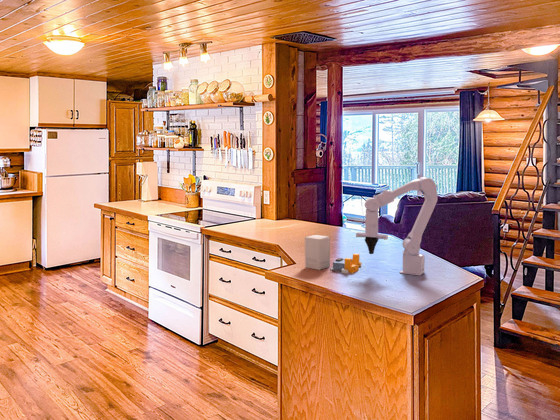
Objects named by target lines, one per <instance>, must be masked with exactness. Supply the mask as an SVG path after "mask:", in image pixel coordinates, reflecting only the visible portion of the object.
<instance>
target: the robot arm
mask: <svg viewBox="0 0 560 420" xmlns="http://www.w3.org/2000/svg"><path fill="white" fill-rule="evenodd" d="M411 191H417V192H418V191H419V192H421V193H422V196H423V198H424V202H423V204H422V206H421V208H420V210H419V213H418V215H417V217H416V220H415V222H414V224H413V226H412V229H411V231H410V232H409V233H408V234H407V236H406V238H404V239H403V240H402V247H403V248H404V250H403V251H402V270H401V271H399V274H403V275H412V276H413V275H414V276H421V275H422V274H424V273H425V255H424V254H421V253H420V250H421V243H422V236H423V235H424V234H423V233H424V231H425V229H426V228H427V224H428V223H429V220H430V219H431V216H432V214H433V212H434V210H435V207H436V204H437V203H438V191H437V184H436V182H435V180H433V179H432V178H429V177H425V176H422V177H419V178H416V179H413V180H411V181H409V182H407V183H405V184H403V185H401V186H399V187H398V188H396V189H393V190H390V189H387V190H386V189H384V190H382V192H381V193H378V194H374V195H373V196H372V197H369V198H367V199H366V200H365V203H364V207H365V217H364V218H365V221H364V222H365V224H364V225H365V232H359V231H357V232H355V237H356V238H364V242H365V243H366V246H367V249H368V254H370V255H373V254H374V253H375V249H376V246H377V243H378V241H379V239H380V240H381V239H382V240H388V237H389V235H388V234H386V233H385V234H383V233H379V210H380V208H382V207H384V206H387V205H389V204H390V203H393V202H394V201H395V199H396V198H397V197H400V196H402V195H404V194H407V193H408V192H409V193H410V192H411Z"/></svg>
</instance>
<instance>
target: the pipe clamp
mask: <svg viewBox="0 0 560 420" xmlns="http://www.w3.org/2000/svg"><path fill="white" fill-rule="evenodd" d="M344 258H345V269H349V274H355V273H356V272H358V271H359V268H360V266H359V262H360V253H353V254H352V258H350V257H344ZM351 259H352V260H351ZM354 272H355V273H354Z"/></svg>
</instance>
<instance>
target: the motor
mask: <svg viewBox="0 0 560 420" xmlns="http://www.w3.org/2000/svg"><path fill="white" fill-rule="evenodd" d="M345 258H346V257H338V258H336V259H335V260H334V261H333V262H332V267H331V268H330V269H329V271H331V270H333V271H334V272H338V271H339V272H340V273H341V274H342V273H343V274H342V275H349V274H350V273H349V269H345ZM351 260H352V258H351ZM362 266H363V265H362V261H359V268H361V267H362ZM333 271H332V272H333ZM339 272H338V273H339Z"/></svg>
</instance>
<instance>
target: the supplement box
mask: <svg viewBox="0 0 560 420" xmlns="http://www.w3.org/2000/svg"><path fill="white" fill-rule="evenodd" d="M304 267H305V268H307V269H313V270H316V271H317V270H318V271H320V270H323V269H326V268H330V267H331V236H328V235H320V234H313V235H309V236H304Z"/></svg>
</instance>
